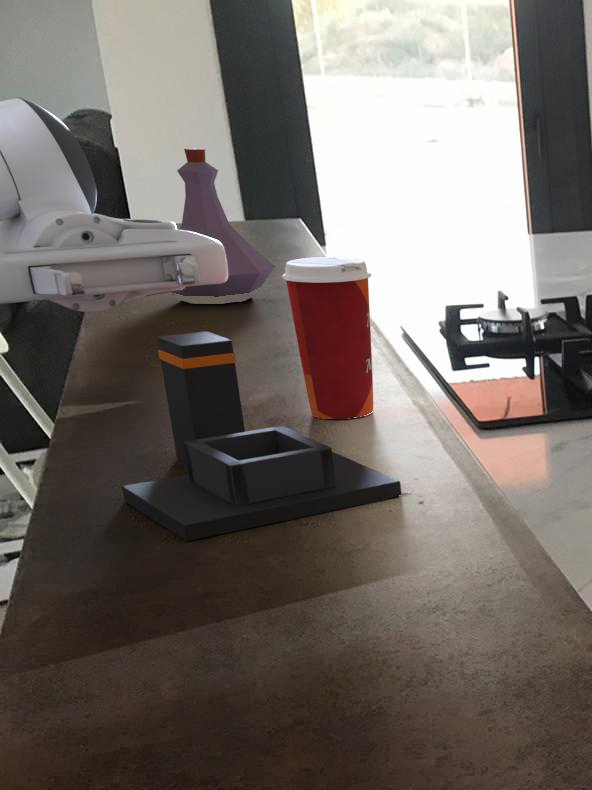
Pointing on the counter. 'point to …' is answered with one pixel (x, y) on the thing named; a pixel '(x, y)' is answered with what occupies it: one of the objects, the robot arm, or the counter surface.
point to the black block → (200, 387)
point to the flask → (218, 231)
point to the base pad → (256, 484)
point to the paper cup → (333, 333)
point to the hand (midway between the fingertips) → (134, 279)
